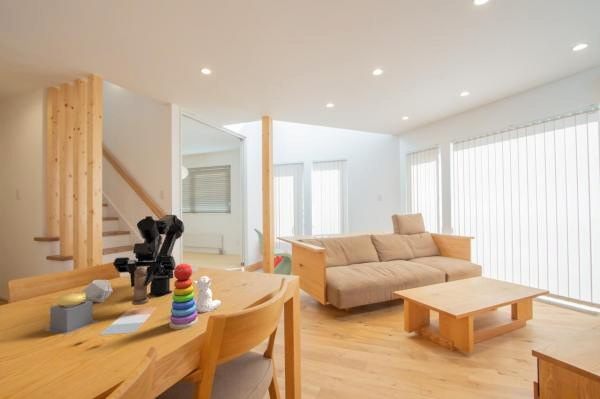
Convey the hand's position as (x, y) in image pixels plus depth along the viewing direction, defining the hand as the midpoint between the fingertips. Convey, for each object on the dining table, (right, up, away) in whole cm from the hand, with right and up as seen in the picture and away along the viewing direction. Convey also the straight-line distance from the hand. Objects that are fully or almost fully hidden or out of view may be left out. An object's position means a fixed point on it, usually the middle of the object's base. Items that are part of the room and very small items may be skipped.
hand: (138, 286), depth 91 cm
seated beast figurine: (+21, -10, +4) cm, 23 cm away
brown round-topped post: (0, -6, +1) cm, 6 cm away
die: (-23, -10, +13) cm, 29 cm away
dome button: (-14, -7, -10) cm, 19 cm away
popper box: (-14, -9, -10) cm, 20 cm away
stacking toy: (+18, -10, -8) cm, 22 cm away
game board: (+1, -10, -5) cm, 11 cm away
